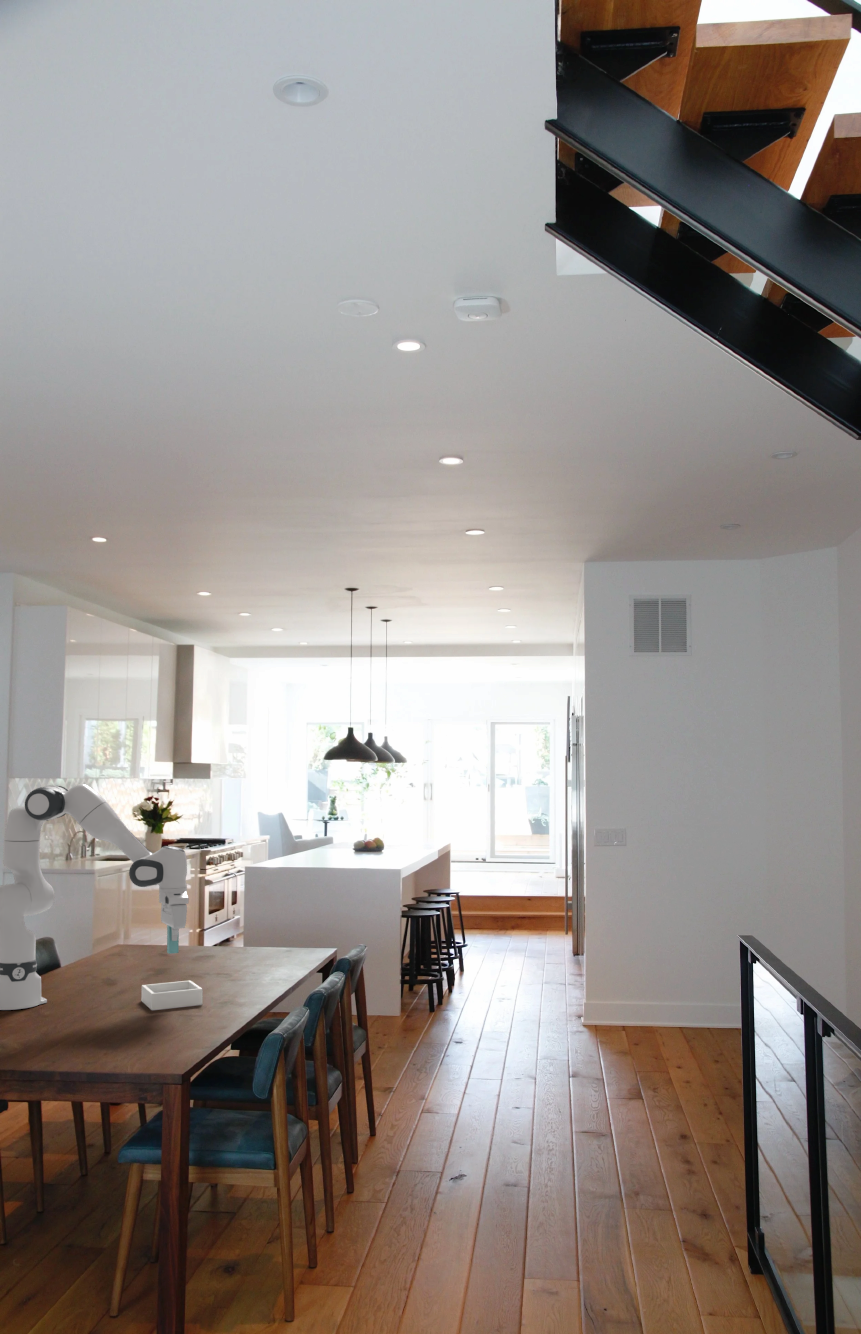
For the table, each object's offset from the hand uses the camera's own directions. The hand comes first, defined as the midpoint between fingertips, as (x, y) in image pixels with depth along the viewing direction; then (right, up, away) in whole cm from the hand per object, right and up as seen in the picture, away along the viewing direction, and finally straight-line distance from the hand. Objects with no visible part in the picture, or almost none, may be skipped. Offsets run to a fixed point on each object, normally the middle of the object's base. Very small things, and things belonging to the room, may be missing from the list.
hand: (172, 939), depth 336 cm
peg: (0, -4, 0) cm, 4 cm away
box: (0, -20, -2) cm, 20 cm away
